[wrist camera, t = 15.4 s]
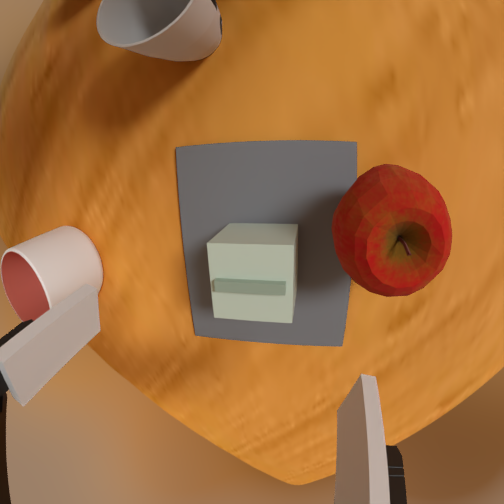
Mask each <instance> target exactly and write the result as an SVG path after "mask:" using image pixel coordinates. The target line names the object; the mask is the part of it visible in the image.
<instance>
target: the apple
mask: <svg viewBox="0 0 504 504" xmlns="http://www.w3.org/2000/svg"><path fill="white" fill-rule="evenodd" d="M331 229H332V235H333V241H334V247H335V251H336V254H337V256H338V259H339V261H340V263H341V266H342V268H343V270H344V271H345V272H346V273H347V274H348V275H349V276H350V277H351V278H352V279H353V280H354V281H355V282H356V283H357V284H359V285H360V286H362V287H363V288H365V289H366V290H368V291H369V292H372V293H375V294H379V295H383V296H386V297H391V296H408V295H410V294H412V293H414V292H416V291H418V290H420V289H422V288H424V287H425V286H426V285H427V284H428V283H429V282H430V281H431V280H432V279H433V278H434V277H436V276H437V275H438V274H439V273H440V272H441V271H442V270H443V268H444V266H445V263H446V261H447V259H448V257H449V255H450V250H451V243H452V228H451V220H450V217H449V213H448V210H447V207H446V204H445V202H444V200H443V198H442V196H441V195H440V193H439V191H438V190H437V189H436V188H435V187H434V186H433V185H431V184H430V183H429V182H428V181H427V180H426V179H425V178H423V177H422V176H421V175H420V174H417V173H415V172H413V171H410V170H408V169H406V168H403V167H401V166H398V165H391V164H383V165H380V166H376V167H373V168H372V169H370V170H369V171H367V172H365V173H364V174H362V175H361V176H359V177H358V179H357V180H356V181H355V182H354V184H353V185H352V186H351V187H350V188H349V190H348V191H347V192H346V193H345V195H344V196H343V197H342V199H341V201H340V203H339V204H338V206H337V208H336V210H335V212H334V214H333V221H332V227H331Z"/></svg>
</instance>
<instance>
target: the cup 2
mask: <svg viewBox="0 0 504 504" xmlns="http://www.w3.org/2000/svg"><path fill="white" fill-rule="evenodd" d="M97 30H98V33H99V35H100V36H101V38H102V39H103V40H104V41H105V42H107V43H108V44H110V45H113V46H116V47H120V48H123V49H126V50H130V51H133V52H136V53H139V54H142V55H145V56H148V57H154V58H160V59H165V60H170V61H196V60H200V59H203V58H205V57H207V56H209V55H210V54H212V53H213V52H214V51H215V50H216V48H217V47H218V46H219V44H220V42H221V38H222V18H221V15H220V12H219V9H218V6H217V3H216V0H102V2H101V4H100V6H99V9H98V13H97Z"/></svg>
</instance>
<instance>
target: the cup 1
mask: <svg viewBox="0 0 504 504" xmlns="http://www.w3.org/2000/svg"><path fill="white" fill-rule="evenodd" d="M1 278H2V283H3V287H4V290H5V293H6V295H7V298H8V300H9V302H10V304H11V306H12V308H13V310H14V311H15V313H16V314H17V316H18V317H19V318H20V319H21V321H22V322H25V321H27V320H30V319H32V320H33V321H35V320H36V319H37V318H39V317H40V316H41V315H43V314H44V313H45V312H47V311H48V310H50V309H51V308H52V307H54V306H55V305H56V304H58V303H59V302H61V301H62V300H63V299H65V298H66V297H68V296H69V295H71V294H72V293H73V292H75V291H76V290H78V289H79V288H81V287H82V286H83V285H85V284H86V283H87V284H89V285H91V286H93V287H95V288H97V292H98V293H99V291H100V289H101V286H102V282H103V267H102V262H101V258H100V256H99V253H98V251H97V249H96V247H95V245H94V244H93V242H92V241H91V239H90V238H89V237H88V236H87V235H86V234H85V233H83V232H82V231H81V230H79V229H77V228H75V227H72V226H61V227H58V228H56V229H53V230H51V231H49V232H46V233H44V234H41V235H39V236H37V237H34V238H32V239H30V240H27V241H25V242H23V243H20V244H18V245H16V246H14V247H11V248H9V249H7V250H6V251H5V252H4V254H3V257H2V259H1Z"/></svg>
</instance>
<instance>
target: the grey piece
mask: <svg viewBox="0 0 504 504" xmlns="http://www.w3.org/2000/svg"><path fill="white" fill-rule="evenodd" d="M176 161H177V177H178V191H179V204H180V215H181V226H182V236H183V246H184V255H185V264H186V272H187V280H188V288H189V295H190V302H191V309H192V316H193V323H194V329H195V335H196V336H204V337H212V338H221V339H230V340H240V341H251V342H263V343H276V344H292V345H312V346H342V344H343V338H344V331H345V324H346V317H347V309H348V301H349V292H350V283H351V277H350V276H349V275H348V274H347V273H346V272H345V271H344V270H343V268H342V266H341V263H340V261H339V259H338V256H337V254H336V251H335V247H334V241H333V235H332V229H331V227H332V221H333V214H334V212H335V210H336V208H337V206H338V204H339V203H340V201H341V199H342V197H343V196H344V195H345V193H346V192H347V191H348V190H349V188H350V187H351V186H352V185H353V184H354V182H355V181H356V180H357V142H345V141H308V140H287V141H250V142H231V143H217V144H204V145H193V146H183V147H176ZM229 223H266V224H298V273H297V293H296V300H295V307H294V314H293V321H292V323H278V322H262V321H249V320H236V319H225V318H214V312H213V303H212V293H211V283H210V273H209V262H208V251H207V243H208V242H209V241H210V240H211V239H212V238H213V237H214V236H216V235H217V234H218V233H219V232H220V231H221V230H222V229H224V228H225V227H226V226H227V225H228V224H229Z"/></svg>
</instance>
